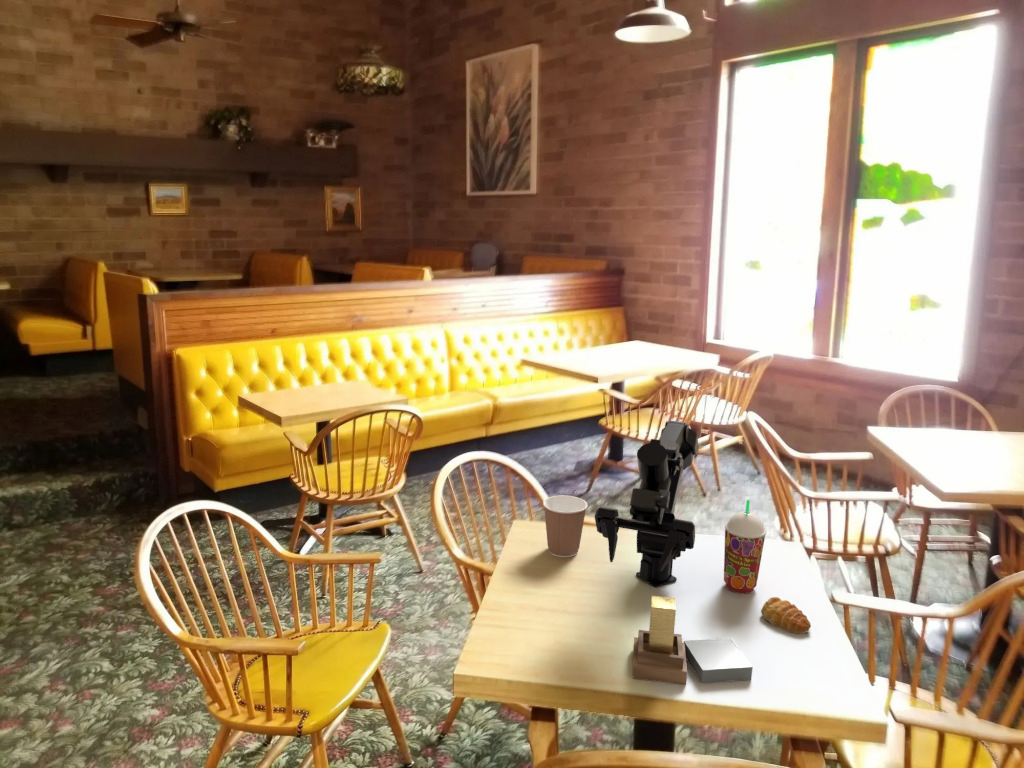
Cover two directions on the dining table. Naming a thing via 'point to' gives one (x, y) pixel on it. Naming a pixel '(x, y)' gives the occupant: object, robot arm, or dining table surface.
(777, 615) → the pastry
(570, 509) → the coffee cup
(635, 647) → the walnut holder
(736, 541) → the smoothie
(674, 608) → the brass bar
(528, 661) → the dining table surface
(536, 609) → the dining table surface
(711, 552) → the dining table surface
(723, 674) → the slate plinth
